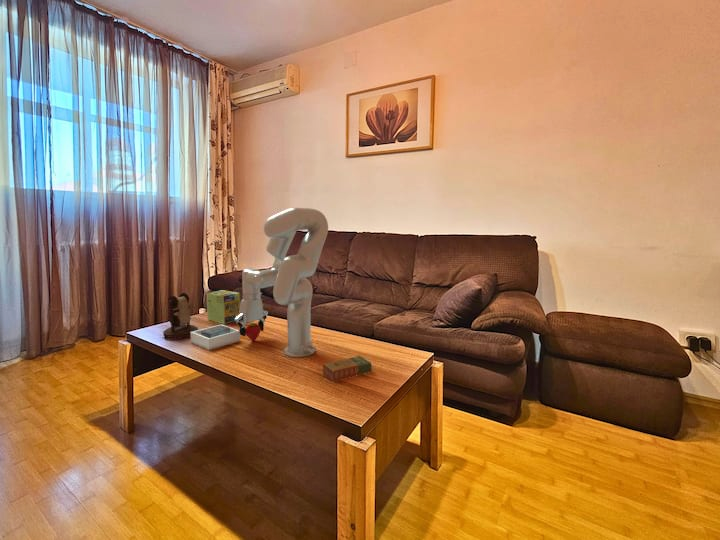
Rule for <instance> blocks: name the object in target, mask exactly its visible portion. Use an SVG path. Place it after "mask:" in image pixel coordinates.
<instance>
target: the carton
mask: <svg viewBox="0 0 720 540" xmlns="http://www.w3.org/2000/svg"><path fill="white" fill-rule="evenodd" d="M371 371H373V367H372V362H371V361H369V360H367V359H366V358H365V357H363V356H361V355H357V356H354V357H348V358H343V359H340V360H339V359H338V360H335V361H330V362H324V363H323V364H322V374H323V375H324V376H325V375H326V376H325V377H326V378H327V379H329V381H331V382H332V383H336V382H339V381H338V380H340V381H342V379H344V380H346V379H345V378H347V379H350V378H349V377H351V378H354V377H353V376H355V377H357V376H356V375H359V376H361V375H360V374H363V375H365V374H364V373H367V374H369V373H368V372H371ZM371 373H372V372H371ZM335 381H336V382H335Z"/></svg>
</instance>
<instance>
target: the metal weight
mask: <svg viewBox="0 0 720 540" xmlns="http://www.w3.org/2000/svg"><path fill="white" fill-rule="evenodd" d="M219 325H220V326H217V325H215V326H216V327H213V326H212V327H213V328H209V327H208V328H209V329H206V330H203V331H201V335H202V336H205V337H207V338H212V337H216V336H219V335H223V334H227V333H230V326H228V327H226V326H227V325H225V326H221V324H219Z"/></svg>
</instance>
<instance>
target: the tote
mask: <svg viewBox="0 0 720 540" xmlns="http://www.w3.org/2000/svg"><path fill="white" fill-rule="evenodd" d="M220 325H221V326H226V327H230V326H227V325H226V324H225V325H224V324H221V323H220V324H218V325H217V324H216V325H214V326H208V327H206V328H202V329H198V330H197V331H193V332H190V333H191V335H190V344H193V345H195V346H197V345H198V347H200V348H202V349H204V348H205V350H206V351H212V349H213V350H215V349H220V348H222V347H225V346H228V345H231V344H234V343H239V342H241V335H240V329H237V328H233V327H230V333H227V334H223V335H219V336H216V337H212V338H207V337H205V336H202V335H201V331H203V330H206V329H209V328H213V327H216V326H220Z"/></svg>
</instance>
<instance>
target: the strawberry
mask: <svg viewBox="0 0 720 540" xmlns="http://www.w3.org/2000/svg"><path fill="white" fill-rule="evenodd" d="M246 325H247V324H246ZM245 328H246V336H247V337H248V339H250V340H251V342H255V341H256V340H257V338H258V337H259V335H260V333H261V328H260V326H259V325H258V322H257V323H256V322H255V321H252V322H249V324H248V325H247V326H246V327H245Z"/></svg>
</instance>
